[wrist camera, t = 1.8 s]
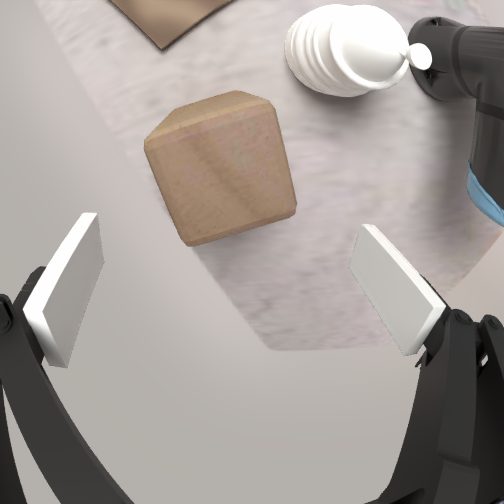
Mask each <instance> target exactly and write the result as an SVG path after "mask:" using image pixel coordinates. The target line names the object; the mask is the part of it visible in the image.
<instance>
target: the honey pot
mask: <svg viewBox="0 0 504 504" xmlns="http://www.w3.org/2000/svg"><path fill="white" fill-rule="evenodd" d="M285 56H286V59H287V62H288V65H289V68H290V69H291V71H292V72H293V74H294V75H295V77H296V78H297V79H298V80H300V81H301V82H302V83H303V84H304V85H305V86H307V87H309V88H311V89H312V90H314V91H317V92H321V93H324V94H329V95H334V96H339V97H354V96H358V95H363V94H366V93H367V92H369V91H371V90H381V89H386V88H390V87H391V86H393V85H395V84H397V83H398V82H399V81H400V80H401V79H402V78H403V77H404V75H405V73H406V71H407V69H408V66H409V63H410V64H411V65H412V66H414V67H416V68H418V69H423V70H424V69H427V68H429V67H430V65H431V62H432V56H431V53H430V51H429V49H428V48H427V47H426V46H425V45H423V44H420V43H417V44H413V45H411V46H409V43H408V39H407V37H406V35H405V33H404V31H403V29H402V27H401V26H400V25H399V24H398V22H397V21H396V20H395V19H394V18H393V17H392V16H390V15H389V14H388V13H387V12H385V11H383V10H381V9H379V8H377V7H373V6H368V5H356V6H352V7H350V6H345V5H338V4H335V5H326V6H322V7H319V8H317V9H315V10H313V11H311V12H309V13H307V14H305V15H303V16H302V17H300V18H299V19H298V20H297V21H296V22H294V23H293V24H292V26H291V28H290V29H289V31H288V33H287V36H286V40H285Z"/></svg>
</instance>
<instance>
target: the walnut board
mask: <svg viewBox="0 0 504 504" xmlns="http://www.w3.org/2000/svg"><path fill="white" fill-rule="evenodd" d="M111 1H112V2H113V3H114V4H115V5H116V6H118V7H119V8H120V9H121V10H122V11H123V12H124V13H125V14H126V15H127V16H128V17H129V18H130V19H131V20H132V21H133V22H134V23H135V24H136V25H137V26H139V27H140V28H141V29H142V30H143V31H144V32H145V33H146V34H147V35H148V36H149V37H150V38H151V39H152V40H153V41H154V42H155V43H156V44H157V45H158V46H159V47H160V48H161V49H162V50H164V49H165V48H166V47H167V46H168V45H170V44H171V43H172V42H173V41H175V40H176V39H177V38H178V37H180V36H181V35H182V34H184V33H185V32H186V31H188V30H189V29H190V28H192V27H193V26H194V25H196V24H197V23H198V22H200V21H201V20H203V19H204V18H205V17H207V16H208V15H210V14H211V13H213V12H214V11H216V10H217V9H219V8H220V7H222V6H223V5H225V4H226V3H228V2H230V1H231V0H111Z"/></svg>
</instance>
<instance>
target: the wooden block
mask: <svg viewBox="0 0 504 504" xmlns="http://www.w3.org/2000/svg"><path fill="white" fill-rule="evenodd" d="M144 151H145V154H146V157H147V159H148V162H149V164H150V167H151V169H152V172H153V174H154V177H155V179H156V182H157V184H158V187H159V189H160V191H161V194H162V196H163V199H164V201H165V203H166V206H167V208H168V211H169V213H170V215H171V218H172V220H173V222H174V225H175V227H176V229H177V231H178V234H179V236H180V238H181V240H183V242H184V243H185V244H186V245H187V246H194V247H195V246H198V245H201V244H204V243H208V242H211V241H214V240H217V239H220V238H224V237H227V236H230V235H233V234H237V233H240V232H243V231H247V230H250V229H253V228H256V227H260V226H263V225H266V224H270V223H273V222H276V221H280V220H283V219H287V218H290V217H291V216H292V215H294V214H295V211H296V205H297V201H296V197H295V192H294V187H293V183H292V178H291V174H290V169H289V165H288V160H287V156H286V152H285V147H284V143H283V139H282V135H281V130H280V126H279V122H278V118H277V114H276V110H275V108H274V107H273V105H272V104H271V103H270V101H269V100H266V99H263V98H260V97H257V96H254V95H251V94H248V93H245V92H242V91H231V92H228V93H224V94H221V95H217V96H214V97H211V98H208V99H204V100H201V101H198V102H195V103H192V104H189V105H186V106H183V107H180V108H177V109H175V110H174V111H172V112H171V113H170V114H169V115H168V116H167V117H166V118H165V119H164V120H163V121H162V122H161V123H160V124H159V125H158V126H157V127H156V128H155V129H154V130H153V131H152V133H151V134H150V135H149V136H148V137H147V138H146V139H145V140H144Z"/></svg>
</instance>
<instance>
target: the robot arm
mask: <svg viewBox="0 0 504 504" xmlns="http://www.w3.org/2000/svg"><path fill="white" fill-rule="evenodd" d="M408 43H409V46H411V45H413V44H417V43H420V44H423V45H425V46H426V47H427V48H428V49H429V51H430V53H431V56H432V62H431V65H430V67H429V68H427V69H424V70H423V69H418V68H416V67H414V66H412V65H411V64H410V63H409V64H410V67H411V70H412V72H413V75H414V77H415V79H416V80H417V82H418V83H419V85H420V86H421V87H422V88H423V89H424V91H426V92H427V93H428V94H429V95H431V96H432V97H434V98H436V99H440V100H444V101H448V102H458V101H463V100H468V99H474V98H476V100H477V101H476V114H475V125H474V133H473V141H472V148H471V155H470V159H469V161H468V169H469V170H468V178H467V191H468V194H469V196H470V198H471V200H472V201H473V203H474V204H475V205H476V206H477V207H478V208H479V209H480V210H481V211H482V212H483V213H484V214H485V215H487V216H488V217H489V218H490V219H492V220H493V221H495V222H496V223H498V224H500V225H502V226H504V28H502V27H485V26H466V25H463V24H461V23H458V22H456V21H453V20H450V19H447V18H444V17H426V18H423V19H421V20H419V21H418V22H417V23H416V24H415V25H414V26H413V27H412V29H411V31H410V34H409V37H408ZM103 264H104V258H103V252H102V245H101V238H100V230H99V221H98V213H83V214H82V215H81V217H80V218H79V219H78V221H77V222H76V223H75V225H74V226H73V228H72V229H71V231H70V232H69V234H68V235H67V236H66V238H65V240H64V241H63V242H62V244H61V245H60V247H59V248H58V250H57V252H56V253H55V255H54V256H53V258H52V260H51V261H50V263H49V264H48V266H47V267H42V266H40V267H38V268H37V269H36V270H35V271H34V272H32V273H31V274H30V276H29V278H28V279H27V281H26V284H24V286H23V287H22V291H20V292H19V294H18V296H17V298H16V299H15V301H14V303H13V305H12V303H11V300H10V299H9V297H8V296H7V295H4V294H0V504H27V502H26V499H25V496H24V493H23V489H22V486H21V483H20V479H19V476H18V472H17V468H16V465H15V460H14V456H13V452H12V447H11V443H10V438H9V432H8V426H7V420H6V413H5V407H4V397H3V388H4V391H5V394H6V396H7V399H8V402H9V404H10V407H11V410H12V412H13V415H14V417H15V419H16V422H17V424H18V426H19V429H20V431H21V433H22V435H23V437H24V439H25V442H26V444H27V446H28V448H29V449H30V452H31V454H32V456H33V457H34V459H35V461H36V463H37V465H38V467H39V469H40V470H41V472H42V474H43V475H44V477H45V479H46V481H47V482H48V484H49V486H50V487H51V489H52V491H53V492H54V494H55V495H56V497H57V498H58V500H59V501H60V503H61V504H134V503H133V502H132V500H130V498H129V497H128V496H127V495H126V494H125V492H124V491H123V490H122V489H121V488H120V487H119V485H118V484H117V483H116V482H115V480H114V479H113V478H112V477H111V475H110V474H109V473H108V472H107V470H106V469H105V468H104V467H103V465H102V464H101V462H100V461H99V460H98V458H97V457H96V456H95V454H94V453H93V451H92V450H91V449H90V447H89V446H88V444H87V443H86V441H85V440H84V438H83V437H82V435H81V434H80V432H79V431H78V429H77V428H76V426H75V424H74V423H73V421H72V420H71V418H70V416H69V415H68V413H67V411H66V409H65V408H64V406H63V404H62V403H61V401H60V399H59V397H58V395H57V393H56V392H55V390H54V388H53V386H52V384H51V382H50V380H49V378H48V376H47V374H46V372H45V370H44V368H43V366H42V365H41V363H42V360H43V358H44V356H45V358H46V360H47V362H48V363H49V365H50V366H56V367H63V368H67V367H68V364H69V360H70V357H71V354H72V350H73V347H74V344H75V341H76V337H77V334H78V331H79V328H80V325H81V322H82V319H83V317H84V313H85V311H86V308H87V305H88V302H89V300H90V297H91V294H92V292H93V289H94V287H95V284H96V281H97V279H98V276H99V274H100V271H101V269H102V267H103ZM348 268H349V270H350V271H351V273H352V274H353V276H354V277H355V279H356V280H357V282H358V283H359V285H360V286H361V288H362V289H363V291H364V292H365V294H366V296H367V297H368V299H369V300H370V302H371V303H372V305H373V307H374V308H375V310H376V311H377V313H378V314H379V316H380V318H381V319H382V321H383V322H384V324H385V326H386V327H387V329H388V331H389V332H390V334H391V336H392V337H393V339H394V341H395V342H396V344H397V346H398V347H399V349H400V351H401V352H402V354H403V356H408V355H412V354H417V352H418V351H419V349H420V348H421V346H422V345H423V344H424V346H425V347H426V351H425V352H424V353H423V355H422V356H421V358H420V359H419V361H418V362H417V364H416V365H415V367H418V365H419V364H421V367H420V375H419V380H418V385H417V390H416V395H415V399H414V403H413V408H412V412H411V416H410V420H409V424H408V428H407V431H406V435H405V438H404V442H403V445H402V448H401V452H400V455H399V458H398V461H397V464H396V467H395V470H394V473H393V476H392V478H391V481H390V483H389V485H388V486H387V488H386V489H385V490H384V491H383V493H382V494H381V495H380V497H379V498H378V499H376V500H373V501H371V502H368V503H365V504H504V327H503V325H502V324H501V322H500V321H499V320H498V319H497V318H496V317H495V316H492V315H485V316H484V317H483V318H482V320H481V322H480V323H478V322H473V320H472V319H471V318H470V316H469V315H468V314H467V313H465V312H463V311H462V310H459V309H453V310H452V309H451V308H450V307H449V306H448V304H447V303H446V302H445V301H444V300H443V298H442V297H441V296H440V295H439V294H438V292H436V290H435V289H434V288H433V286H431V284H430V283H429V282H428V281H427V280H426V278H424V277H423V276H422V275H420V274H419V273H418V272H417V271H416V270H415V269H414V268H413V266H412V265H411V264H410V263H409V262H408V261H407V260H406V259H405V258H404V256H403V255H402V254H401V253H400V252H399V251H398V250H397V249H396V248H395V247H394V246H393V245H392V243H391V242H390V241H389V240H388V239H387V238H386V237H385V236H384V235H383V234H382V233H381V232H380V231H379V230H378V229H377V228H376V227H375V226H374V225H369V224H362V225H361V228H360V232H359V235H358V238H357V241H356V244H355V247H354V251H353V254H352V257H351V260H350V263H349V265H348ZM486 355H487V356H488V361H487V362H486V363H485V365H484V366H482V363H481V361H482V360H483V359H484V358H485V356H486ZM2 385H3V388H2Z"/></svg>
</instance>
